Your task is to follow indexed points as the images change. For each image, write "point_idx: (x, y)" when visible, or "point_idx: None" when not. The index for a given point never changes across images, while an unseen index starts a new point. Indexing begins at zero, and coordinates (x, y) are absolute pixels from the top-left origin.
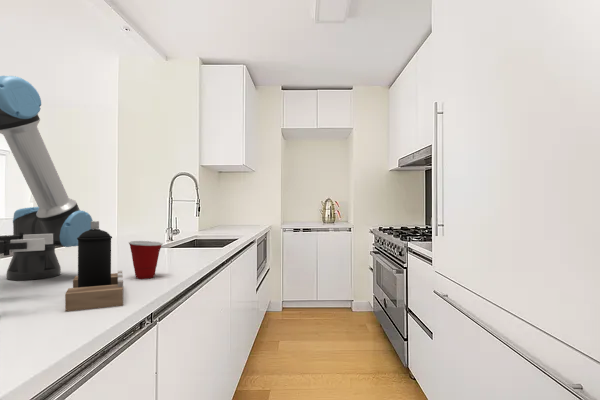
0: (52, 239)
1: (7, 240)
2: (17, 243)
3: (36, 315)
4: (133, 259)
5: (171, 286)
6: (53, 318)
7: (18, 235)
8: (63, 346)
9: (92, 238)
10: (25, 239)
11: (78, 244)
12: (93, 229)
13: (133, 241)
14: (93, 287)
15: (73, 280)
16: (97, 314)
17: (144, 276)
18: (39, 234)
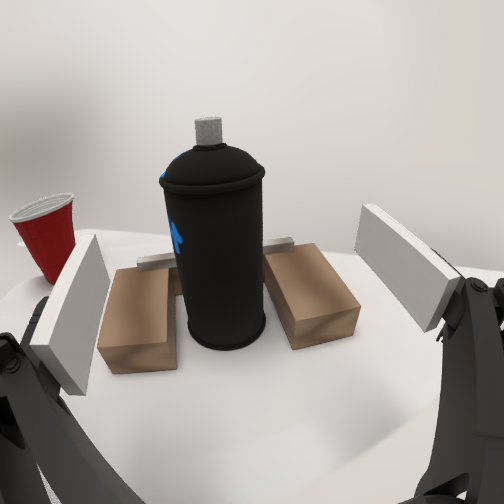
0: (102, 262)
1: (98, 464)
2: (448, 263)
3: (383, 372)
4: (48, 249)
5: None
6: (398, 334)
7: (16, 379)
8: (477, 278)
9: (263, 167)
10: (413, 239)
11: (233, 206)
12: (211, 146)
13: (12, 218)
14: (293, 280)
15: (166, 341)
16: (367, 286)
17: None
18: (77, 271)
